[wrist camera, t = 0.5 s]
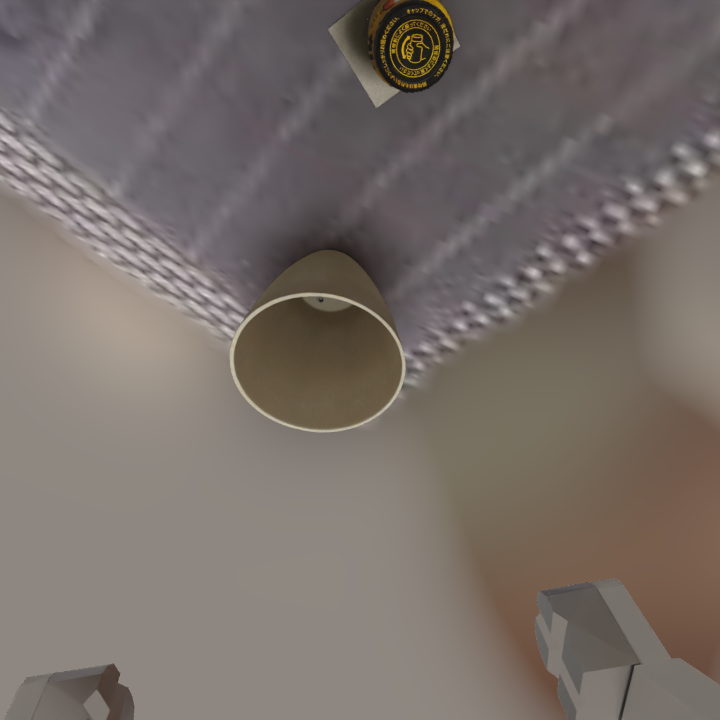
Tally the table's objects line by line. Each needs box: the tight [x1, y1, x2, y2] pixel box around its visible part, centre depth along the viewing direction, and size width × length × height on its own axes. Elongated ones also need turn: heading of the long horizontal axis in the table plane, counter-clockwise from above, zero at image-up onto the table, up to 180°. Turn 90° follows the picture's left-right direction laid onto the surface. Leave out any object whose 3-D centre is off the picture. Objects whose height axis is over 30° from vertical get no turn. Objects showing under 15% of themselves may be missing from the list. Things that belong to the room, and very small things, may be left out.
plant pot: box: [230, 250, 406, 432], centre depth 51 cm, size 15×15×16 cm
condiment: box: [328, 0, 460, 108], centre depth 39 cm, size 7×8×12 cm
